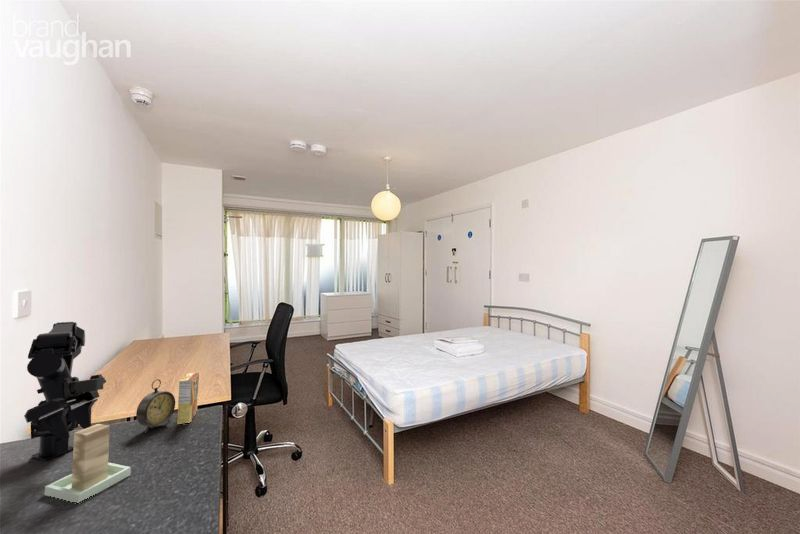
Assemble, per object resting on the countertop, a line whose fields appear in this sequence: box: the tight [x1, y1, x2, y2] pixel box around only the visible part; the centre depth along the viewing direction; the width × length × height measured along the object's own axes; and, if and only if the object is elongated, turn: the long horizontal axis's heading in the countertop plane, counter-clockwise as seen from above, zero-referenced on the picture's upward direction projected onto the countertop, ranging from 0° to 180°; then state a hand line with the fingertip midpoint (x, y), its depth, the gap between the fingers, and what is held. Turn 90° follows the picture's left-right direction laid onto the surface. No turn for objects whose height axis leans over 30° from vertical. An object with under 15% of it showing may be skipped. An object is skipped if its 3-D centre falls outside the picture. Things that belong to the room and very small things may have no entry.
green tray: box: [44, 461, 132, 504], centre depth 78 cm, size 11×11×2 cm
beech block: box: [71, 423, 111, 491], centre depth 79 cm, size 4×5×13 cm
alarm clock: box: [135, 378, 176, 433], centre depth 108 cm, size 11×5×16 cm, turn 168°
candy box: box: [176, 372, 200, 425], centre depth 115 cm, size 9×4×15 cm, turn 19°
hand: (78, 434), depth 83 cm, fingers open, 9 cm apart
